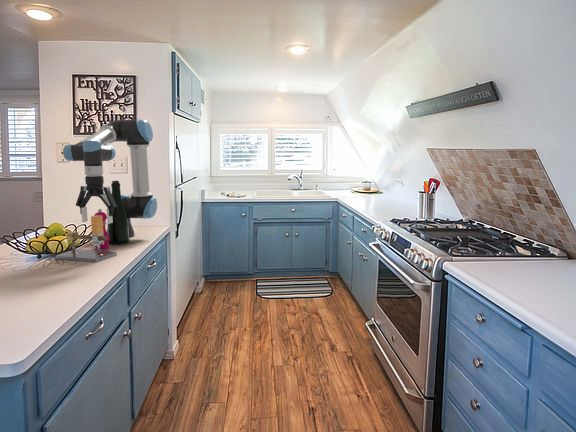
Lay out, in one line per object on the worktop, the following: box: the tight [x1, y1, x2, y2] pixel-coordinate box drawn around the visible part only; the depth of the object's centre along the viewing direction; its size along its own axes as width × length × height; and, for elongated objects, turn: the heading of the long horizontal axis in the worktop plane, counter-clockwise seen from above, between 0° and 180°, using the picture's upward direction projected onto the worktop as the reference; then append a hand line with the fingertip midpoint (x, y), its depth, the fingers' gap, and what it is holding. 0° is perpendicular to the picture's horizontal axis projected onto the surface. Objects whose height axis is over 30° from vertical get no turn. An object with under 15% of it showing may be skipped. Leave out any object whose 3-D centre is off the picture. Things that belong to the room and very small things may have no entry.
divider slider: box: [90, 215, 104, 253], centre depth 209 cm, size 4×3×17 cm
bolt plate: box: [55, 248, 117, 263], centre depth 213 cm, size 14×22×2 cm, turn 73°
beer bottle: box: [106, 180, 130, 246], centre depth 240 cm, size 10×10×33 cm
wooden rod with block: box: [66, 231, 107, 253], centre depth 212 cm, size 4×20×9 cm, turn 73°
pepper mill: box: [93, 208, 110, 251], centre depth 229 cm, size 7×7×20 cm
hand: (97, 222), depth 209 cm, fingers open, 13 cm apart
